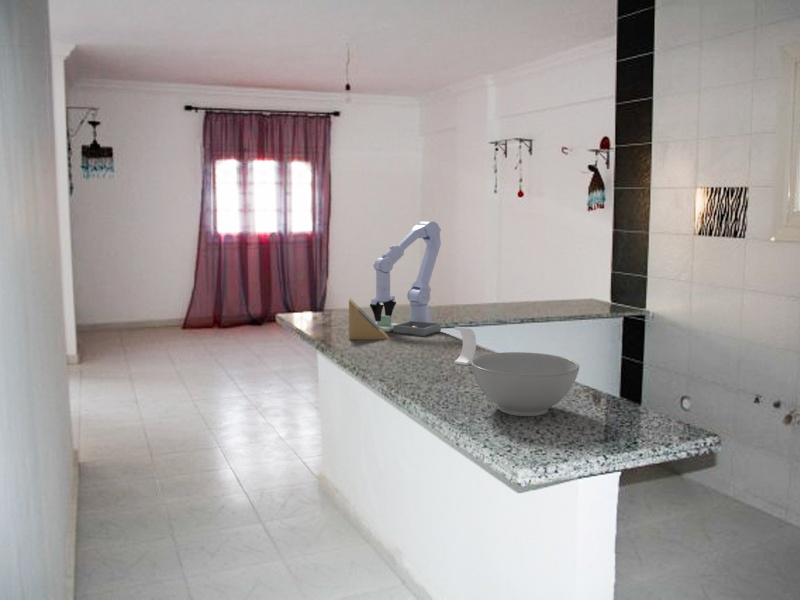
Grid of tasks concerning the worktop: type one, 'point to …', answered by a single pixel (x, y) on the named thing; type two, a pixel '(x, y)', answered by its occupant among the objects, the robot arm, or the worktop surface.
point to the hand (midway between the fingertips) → (383, 319)
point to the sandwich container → (363, 324)
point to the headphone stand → (466, 346)
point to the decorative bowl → (524, 380)
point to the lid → (386, 323)
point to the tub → (421, 329)
